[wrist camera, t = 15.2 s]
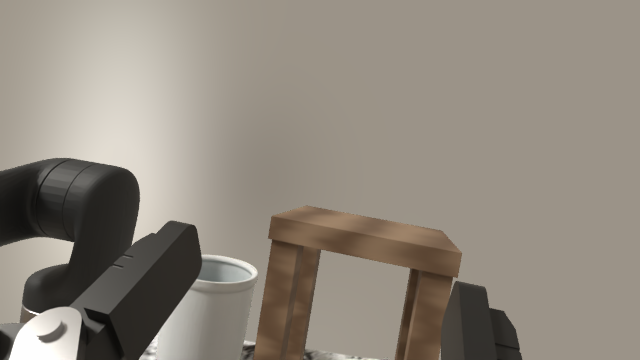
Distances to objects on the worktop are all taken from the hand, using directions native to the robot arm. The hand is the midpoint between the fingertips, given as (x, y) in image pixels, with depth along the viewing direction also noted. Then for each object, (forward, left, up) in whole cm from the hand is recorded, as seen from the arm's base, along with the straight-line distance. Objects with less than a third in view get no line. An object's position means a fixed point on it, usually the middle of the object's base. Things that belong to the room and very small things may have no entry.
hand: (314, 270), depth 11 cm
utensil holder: (-12, +52, -34) cm, 63 cm away
